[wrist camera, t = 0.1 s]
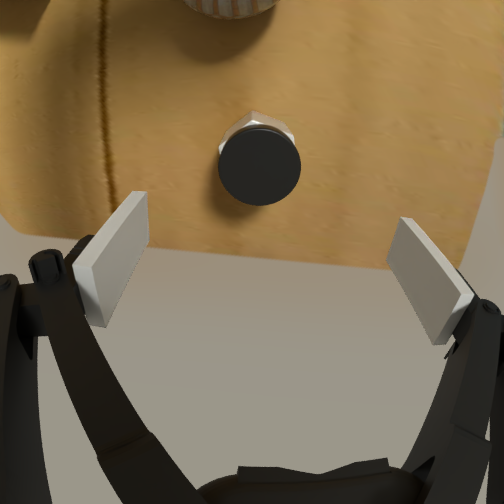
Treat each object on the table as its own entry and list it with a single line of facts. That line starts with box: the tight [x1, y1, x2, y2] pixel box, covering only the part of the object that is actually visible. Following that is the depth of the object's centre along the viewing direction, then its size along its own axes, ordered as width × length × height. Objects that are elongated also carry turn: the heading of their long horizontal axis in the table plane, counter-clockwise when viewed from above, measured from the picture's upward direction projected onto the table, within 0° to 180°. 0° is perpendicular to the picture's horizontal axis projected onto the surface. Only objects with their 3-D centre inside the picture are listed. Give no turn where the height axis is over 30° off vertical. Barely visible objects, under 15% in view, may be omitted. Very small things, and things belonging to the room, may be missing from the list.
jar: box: [218, 111, 301, 206], centre depth 36 cm, size 9×8×12 cm
